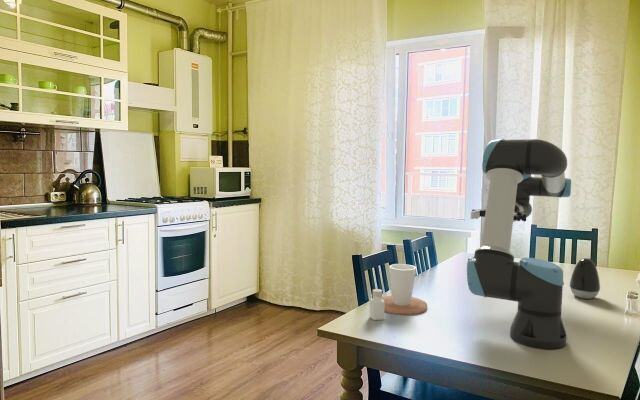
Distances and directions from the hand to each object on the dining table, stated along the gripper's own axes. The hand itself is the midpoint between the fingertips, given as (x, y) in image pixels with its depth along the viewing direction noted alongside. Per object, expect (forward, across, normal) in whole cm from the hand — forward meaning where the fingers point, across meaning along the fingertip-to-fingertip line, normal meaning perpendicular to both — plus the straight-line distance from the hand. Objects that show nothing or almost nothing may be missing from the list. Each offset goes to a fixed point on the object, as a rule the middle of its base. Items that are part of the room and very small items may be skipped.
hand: (489, 217), depth 168 cm
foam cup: (+24, +21, -31) cm, 45 cm away
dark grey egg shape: (-34, -25, -32) cm, 53 cm away
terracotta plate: (+24, +21, -32) cm, 45 cm away
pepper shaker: (+41, +20, -32) cm, 56 cm away
